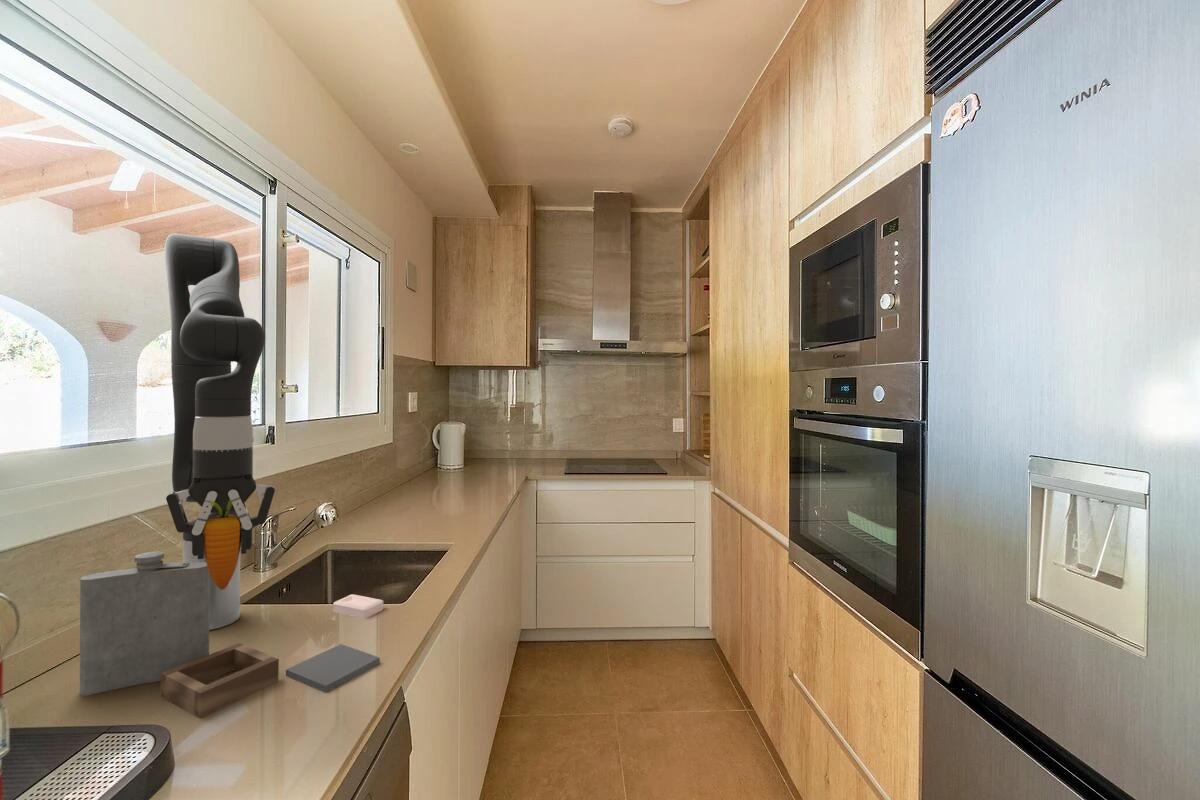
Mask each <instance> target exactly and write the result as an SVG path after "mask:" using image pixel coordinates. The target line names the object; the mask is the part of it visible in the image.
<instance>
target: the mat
mask: <svg viewBox="0 0 1200 800" xmlns="http://www.w3.org/2000/svg"><path fill="white" fill-rule="evenodd" d="M380 663H381V659H380V657H379V656H377V655H374V654H371V653H368V652H365V651H363V650H360V649H357V648H353V647H351V646H348V645H345V644H342V643H340V644H337V645H336V646H334V647H331V648H328V649H327V650H325V651H323V652H320V653H318V654H316V655H313V656H312V657H309V658H307V659H305V660H303V661H301V662H299V663H297V664H294V665H293V666H290V667H288V668H286V669H285V676H286V677H289V678H291V679H293V680H295V681H297V682H300V683H302V684H305V685H308V686H310V687H312V688H314V689H317V690H319V691H321V692H324V693H327V692H330V690H333V689H335V688H336V687H339V686H340V685H342V684H344V683H346V682H348V681H349V680H351V679H353V678H355V677H357V676H359V675H361V674H363V673H364V672H366V671H368V670H370V669H372V668H374V667H375V666H376V667H377V666H378V665H379V664H380Z"/></svg>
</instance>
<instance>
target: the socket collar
mask: <svg viewBox="0 0 1200 800" xmlns="http://www.w3.org/2000/svg"><path fill="white" fill-rule="evenodd" d="M233 671H236V672H234V673H231V672H233ZM227 673H231V674H229V675H227ZM225 674H226V675H227V676H225V677H223V678H220V679H217V680H216V681H213V682H211V683H209V684H204V683H207V682H209V681H212V680H214V679H216V678H218V677H221V676H223V675H225ZM276 682H279V658H277V657H275V656H272V655H270V654H267V653H265V652H262V651H260V650H257V649H256V648H252V647H250V646H247V645H245V644H243V643H240V642H238V643H236V644H233V645H230V646H228V647H224V648H222V649H219V650H217V651H214V652H212V653H209V655H207V656H204V657H202V658H199V659H196V660H194V661H191V662H189V663H186V664H183V665H181V666H178V667H176V668H173V669H170V670H168V671H165V672H163V673H161V680H160V697H161V698H162V699H165V700H166V701H168V702H170V703H172V704H174V705H175V706H178V707H179V708H181V709H183V710H184V711H186V712H189V713H191V714H192V715H194V716H196V717H198V718H199V719H202V718H203V717H205V716H207V715H209V714H212V713H214V712H215V711H218V710H220V709H222V708H224V707H226V706H228V705H231V704H233V703H235V702H237V701H239V700H241V699H243V698H245V697H247V696H250V695H251V694H254V693H256V692H258V691H260V690H262V689H264V688H266V687H268V686H271V685H272V684H274V683H276Z"/></svg>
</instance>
